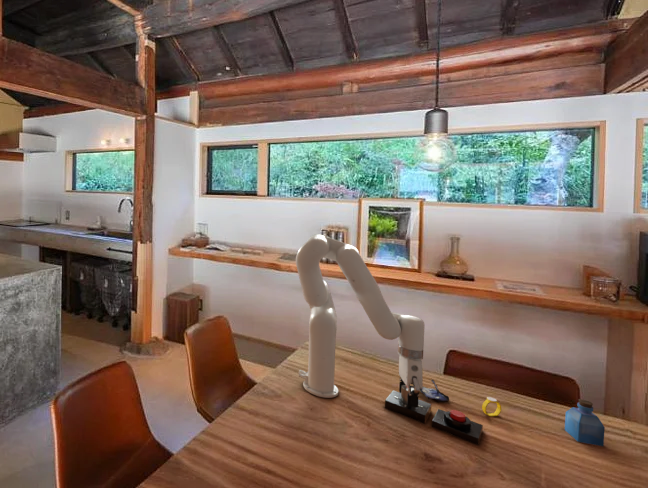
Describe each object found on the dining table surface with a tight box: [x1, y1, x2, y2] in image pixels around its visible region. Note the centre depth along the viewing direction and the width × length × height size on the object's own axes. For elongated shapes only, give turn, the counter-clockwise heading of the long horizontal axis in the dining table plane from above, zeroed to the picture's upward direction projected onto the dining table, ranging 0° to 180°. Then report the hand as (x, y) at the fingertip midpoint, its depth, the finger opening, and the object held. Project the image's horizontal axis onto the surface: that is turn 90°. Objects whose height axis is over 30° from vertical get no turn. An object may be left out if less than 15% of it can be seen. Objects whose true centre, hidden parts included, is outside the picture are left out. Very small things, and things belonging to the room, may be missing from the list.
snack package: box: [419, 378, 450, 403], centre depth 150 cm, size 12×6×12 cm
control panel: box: [384, 389, 432, 425], centre depth 140 cm, size 12×10×3 cm
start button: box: [449, 409, 466, 422], centre depth 130 cm, size 4×4×2 cm
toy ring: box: [481, 396, 502, 417], centre depth 138 cm, size 6×3×6 cm, turn 93°
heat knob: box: [401, 385, 414, 404], centre depth 140 cm, size 4×4×5 cm
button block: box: [431, 408, 484, 446], centre depth 130 cm, size 12×10×4 cm
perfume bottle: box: [564, 398, 606, 447], centre depth 126 cm, size 6×6×12 cm
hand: (408, 399), depth 140 cm, fingers open, 7 cm apart
